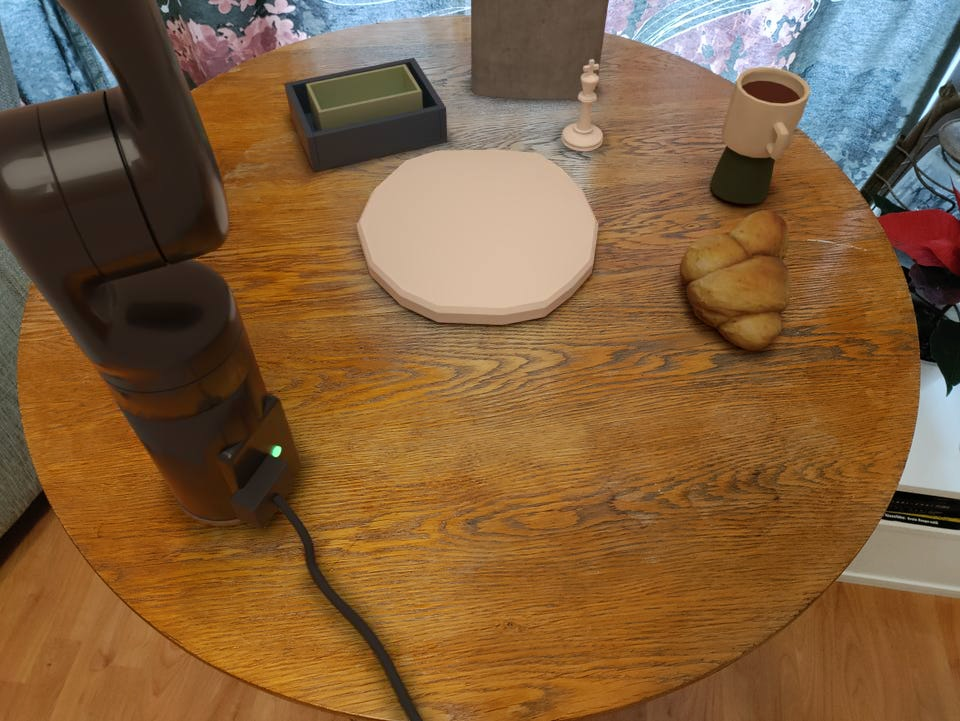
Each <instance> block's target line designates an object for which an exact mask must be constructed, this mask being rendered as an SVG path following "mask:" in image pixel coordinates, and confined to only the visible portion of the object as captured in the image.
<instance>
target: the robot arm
mask: <svg viewBox="0 0 960 721" xmlns="http://www.w3.org/2000/svg"><path fill="white" fill-rule="evenodd" d="M56 1H57V2H58V3H59V4H60V6H61V7H62V8H63V10H65V11H66V13H67V14H68V15H69V16H70V17H71V18H72V20H73V21H74V22H75V23H76V24H77V26H78V27H79V28H80V29H81V31H82V32H83V33H84V34H85V36H86V37H87V38H88V40H89V42H90V43H91V44H92V46H93V47H94V48H95V50H96V51H97V53H98V54H99V55H100V57H101V59H102V60H103V61H104V62H105V64H106V66H107V67H108V69H109V71H110V72H111V74H112V76H113V78H114V79H115V81H116V83H117V85H116V86H114V87H111V88H110V87H109V88H106V90H105V89H98V90H94V91H89V92H84V93H78V94H74V95H69V96H65V97H60V98H55V99H50V100H46V101H41V102H36V103H32V104H26V105H22V106H19V107H13V108H8V109H4V110H1V111H0V238H1V240H2V241H3V243H4V244H5V246H6V247H7V248H8V250H9V251H10V253H11V254H12V256H13V257H14V259H15V260H16V262H17V263H18V265H19V266H20V267H21V269H22V270H23V272H24V273H25V274H26V276H27V277H28V278H29V280H30V281H31V283H32V284H33V285H34V287H35V288H36V289H37V291H39V293H40V294H41V296H42V297H43V298H44V300H45V301H46V303H47V304H48V305H49V306H50V308H51V309H52V310H53V312H54V313H55V314H56V316H57V317H58V318H59V320H60V321H61V323H62V324H63V325H64V328H66V330H67V332H68V334H69V335H70V336H71V339H73V341H74V342H75V344H76V345H77V347H78V349H79V350H80V351H81V352H82V354H83V355H84V357H86V358H87V359H88V361H90V363H91V364H92V366H93V368H94V369H95V371H96V372H97V373H98V376H99V377H100V378H101V380H102V382H103V383H104V385H105V386H106V388H107V390H108V391H109V393H110V395H111V396H112V398H113V400H114V401H115V403H116V405H117V406H118V408H119V409H120V411H121V413H122V415H123V416H124V418H125V419H126V420H127V422H128V424H129V425H130V427H131V429H132V431H133V432H134V433H135V435H136V437H137V438H138V440H139V441H140V443H141V445H142V446H143V448H144V450H145V451H146V452H147V455H148V457H150V459H151V461H152V462H153V464H154V466H155V467H156V469H157V471H158V472H159V474H160V476H161V477H162V478H163V480H164V482H165V483H166V484H167V486H168V488H169V489H170V490H171V492H172V496H173V498H174V499H175V501H176V503H177V505H178V507H179V508H180V510H182V511H183V513H184V514H185V515H186V516H187V517H189V518H190V519H192V520H193V521H195V522H197V523H200V524H202V525H205V526H209V527H217V528H218V527H219V528H224V527H225V528H227V527H228V528H229V527H235V526H240V525H243V524H247V525H249V526H251V527H253V528H255V529H258V530H260V531H264V529H266V527H267V525H269V524H268V523H269V522H270V521H271V520H272V518H273V516H274V515H275V513H276V512H277V511H278V510H279V511H280V512H281V513H282V515H283V516H284V517H285V519H286V520H287V521H288V522H289V523H290V524H291V526H292V527H293V529H294V530H295V532H296V533H297V535H298V537H299V539H300V540H301V543H302V546H303V551H304V552H303V553H304V560H305V565H306V568H307V570H308V572H309V574H310V575H311V577H312V580H313V581H314V582H315V584H316V585H317V588H318V589H319V590H320V592H321V593H322V594H323V595H324V596H325V597H326V600H328V602H329V603H331V605H332V606H334V607H335V608H336V610H337V611H338V612H339V613H340V614H342V616H344V618H346V619H347V620H348V621H349V622H350V624H352V625H353V626H354V627H355V629H356V630H357V631H358V632H359V634H360V635H361V636H362V637H363V638H364V639H365V641H366V642H367V644H368V645H369V646H370V648H371V650H372V651H373V652H374V654H375V656H376V657H377V659H378V661H379V663H380V664H381V666H382V668H383V670H384V672H385V674H386V676H387V678H388V680H389V682H390V684H391V686H392V688H393V690H394V692H395V695H396V696H397V698H398V700H399V702H400V704H401V707H402V709H403V711H404V712H405V714H406V716H407V718H408V720H409V721H424V720H423V718H422V717H421V715H420V713H419V711H418V710H417V708H416V705H415V704H414V702H413V700H412V697H411V696H410V694H409V692H408V690H407V688H406V686H405V684H404V683H403V682H404V681H403V680H402V678H401V676H400V674H399V672H398V670H397V668H396V667H395V664H394V662H393V661H392V659H391V657H390V655H389V654H388V652H387V650H386V649H385V647H384V645H383V644H382V642H381V640H380V639H379V638H378V637H377V635H376V633H375V632H374V631H373V630H372V628H371V627H370V626H369V625H368V624H367V622H366V621H365V620H364V619H363V618H362V617H361V615H359V613H357V612H356V610H354V609H353V608H352V607H351V605H349V604H348V603H347V602H346V601H344V599H343V598H341V596H339V594H338V593H337V592H336V591H335V590H334V589H333V587H332V586H331V585H330V583H329V582H328V581H327V580H326V578H325V576H324V575H323V573H322V572H321V570H320V568H319V565H318V563H317V560H316V552H315V550H316V549H315V545H314V541H313V539H312V536H311V535H310V534H311V533H310V532H309V530H308V529H307V527H306V526H305V524H304V522H303V521H302V519H301V518H300V517H299V515H298V514H297V513H296V512H295V511H294V510H293V508H292V507H291V506H290V505H289V504H288V502H287V501H286V500H285V499H286V498H287V496H288V495H289V494H290V492H291V491H292V489H293V488H294V487H295V485H296V480H295V478H296V477H297V475H298V473H299V472H300V471H301V469H302V468H303V463H302V460H301V457H300V454H299V451H298V448H297V445H296V442H295V440H294V437H293V434H292V431H291V427H290V424H289V420H288V419H287V415H286V413H285V412H286V411H285V410H284V406H283V404H282V401H281V399H280V397H279V396H277V395H274V394H272V393H270V392H268V389H267V387H266V383H265V381H264V377H263V375H262V372H261V369H260V366H259V364H258V361H257V358H256V356H255V352H254V349H253V346H252V345H251V340H250V338H249V335H248V332H247V329H246V326H245V324H244V322H243V318H242V315H241V311H240V309H239V305H238V303H237V299H236V297H235V295H234V293H233V292H234V291H232V289H231V287H230V284H228V282H227V281H226V279H225V278H224V277H223V276H222V275H221V274H220V273H219V272H218V271H217V270H216V269H214V268H213V267H211V266H210V265H207V264H206V263H203V262H201V261H199V260H196V259H197V258H200V257H202V256H205V255H208V254H210V253H213V252H214V251H217V250H219V249H220V248H221V247H222V246H224V244H225V243H226V241H227V239H228V237H229V234H230V223H231V216H230V206H229V202H228V197H227V192H226V191H227V190H226V186H225V184H224V181H223V178H222V177H223V176H222V173H221V170H220V167H219V163H218V161H217V157H216V156H215V153H214V152H215V151H214V149H213V146H212V144H211V141H210V138H209V136H208V133H207V131H206V127H205V125H204V122H203V120H202V118H201V115H200V112H199V110H198V107H197V104H196V103H195V99H194V97H193V93H192V91H191V88H190V86H189V83H188V81H187V79H186V76H185V73H184V71H183V68H182V65H181V63H180V60H179V57H178V54H177V53H176V50H175V47H174V44H173V41H172V39H171V36H170V35H169V31H168V29H167V27H166V23H165V21H164V18H163V16H162V13H161V11H160V8H159V6H158V3H157V0H56Z"/></svg>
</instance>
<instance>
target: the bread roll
mask: <svg viewBox="0 0 960 721" xmlns="http://www.w3.org/2000/svg"><path fill="white" fill-rule="evenodd" d="M789 245H790V229H789V226H788V223H787V221H786V220H785V219H784V217H782V215H781V216H780V215H779V214H778V213H777V212H775V211H771V210H766V209H761V210H757V211H754V212H752V213H750V214H749V215H747V216H746V217H744V218H743V219H742V220H741V221H740V222H739V223H738V224H736V225H735V226H734V227H733V228H732V229H731V231H730V232H729V233H727V232H716V233H715V234H712V235H711V234H710V235H703V236H701V237H700V238H698V239H697V240H695V241H694V242H693V243H691V244H690V245H689V246H688V247H686V250H685V252H684V254H683V256H682V258H681V260H680V262H679V267H678V268H679V274H678V275H679V277H680V279H681V281H682V282H683V283H684V285H685V286H686V287H685V289H686V296H687V299H688V303H689V305H690V307H691V308H692V310H693V311H692V312H693V314H694V315H695V316H696V318H698V319H699V320H701V321H702V322H703V323H705V324H706V325H708V326H710V327H713V328H716V330H717V331H718V332H719V333H720V335H721V336H722V337H723V338H724V339H725V340H727V341H728V342H730V343H732V345H735V346H736V347H739V348H741V349H744V350H749V351H760V350H763V349H765V348H767V347H768V346H769V345H770V344H772V343H773V342H774V341H775V340H776V339H777V338H778V336H779V334H780V333H781V331H782V317H781V313H783V312H785V311H786V309H788V306H789V304H790V297H791V292H792V290H791V289H792V276H791V273H790V269H789V268H788V266H787V264H786V263H785V261H784V259H785V258H786V256H787V252H788V250H789V247H790V246H789Z"/></svg>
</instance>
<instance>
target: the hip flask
mask: <svg viewBox="0 0 960 721" xmlns="http://www.w3.org/2000/svg"><path fill="white" fill-rule="evenodd" d="M609 2H610V0H470V49H471V50H470V74H471V78H470V80H471V81H470V82H471V83H470V85H471V88H470V89H471V92H472V93H473V94H475V95H477V96H482V97H488V98H496V99H497V98H498V99H510V100H527V101H528V100H532V101H557V100H559V101H560V100H561V101H562V100H575V99H576V100H577V99H578V95H579V93H580V92H582V91H583V88H582V83H581V75H582V74H584V73H587V72H588V71H586V72H584V71H583V66H587V65H589V60H591V59H593V60H594V61H595V62H594V64H598V65H599V69H598V70H593V73H595V74H597V75H598V76H600V67H601V59H602V52H603V46H604V38H605V30H606V23H607V16H608V9H609ZM598 82H599V81H598ZM598 82H597V84H596V86H595V88H594V90H593V92H594V93H595V94H596V95H597V88H598Z"/></svg>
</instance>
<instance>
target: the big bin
mask: <svg viewBox="0 0 960 721" xmlns="http://www.w3.org/2000/svg"><path fill="white" fill-rule="evenodd" d="M403 64H405V65H406V66H407V68H408V70H409V71H410V73H411V74H412V76H413V78H414V79H415V81H416V83H417V84H418V86H419V87H420V89H421V91H422V103H423V109H419V110H415V111H410V112H405V113H401V114H396V115H391V116H387V117H382V118H378V119H373V120H368V121H364V122H359V123H354V124H350V125H345V126H340V127H336V128H331V129H326V130H322V131H317V130H316V127H315V125H314V123H313V119H312V114H311V109H310V104H309V98H308V93H307V88H306V84H308V83H313V82H318V81H323V80H328V79H333V78H338V77H343V76H348V75H353V74H358V73H363V72H368V71H373V70H378V69H383V68H388V67H393V66H398V65H403ZM283 85H284V89H285V90H284V91H285V94H286V98H287V99H286V100H287V104H288V108H289V113H290V118H291V120H292V123H293V125H294V128H295V130H296V132H297V135H298V137H299V140H300V142H301V144H302V147H303V150H304V151H305V154H306V157H307V159H308V162H309V164H310V166H311V169H312V171H313V173H317V172H322V171H325V170H330V169H334V168H335V169H336V168H339V167H344V166H348V165H352V164H357V163H361V162H365V161H369V160H374V159H378V158H383V157H387V156H391V155H395V154H400V153H405V152H408V151H413V150H418V149H422V148H426V147H431V146H435V145H440V144H444V143H447V142H448V122H447V119H448V118H447V107H446V105H445V104H444V102H443V100H442V99H441V97H440V96H439V94H438V92H437V91H436V89H435V88H434V86H433V85H432V83H431V82H430V80H429V79H428V76H427V75H426V74H425V72H424V70H423V69H422V68H421V65H419V63H418V61H417V60H416V58H415V57H410V58H405V59H399V60H394V61H389V62H384V63H380V64H374V65H369V66H364V67H358V68H354V69H349V70H348V69H347V70H344V71H340V72H333V73H329V74H324V75H319V76H313V77H309V78H308V77H307V78H303V79H298V80H294V81H293V80H292V81H289V82H285V83H284V84H283Z"/></svg>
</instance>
